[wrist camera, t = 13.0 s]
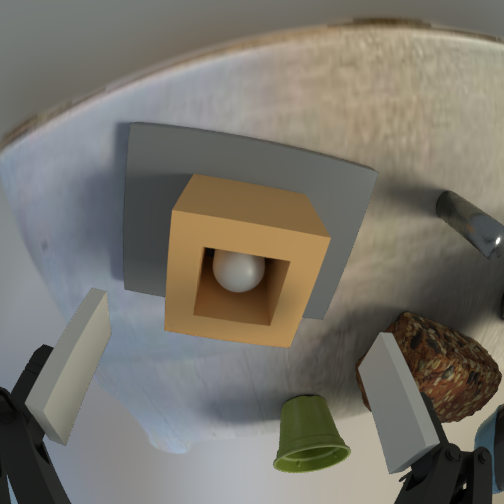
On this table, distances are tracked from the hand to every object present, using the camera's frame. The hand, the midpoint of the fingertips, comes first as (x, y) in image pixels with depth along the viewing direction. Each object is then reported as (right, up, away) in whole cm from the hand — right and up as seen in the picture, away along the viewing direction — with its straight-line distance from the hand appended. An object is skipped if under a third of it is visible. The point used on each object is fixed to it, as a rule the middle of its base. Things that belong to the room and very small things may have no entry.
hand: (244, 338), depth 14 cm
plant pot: (+7, -17, +23) cm, 30 cm away
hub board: (-1, +6, +10) cm, 12 cm away
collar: (-1, +5, +9) cm, 11 cm away
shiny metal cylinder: (+18, +8, +10) cm, 22 cm away
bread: (+22, -9, +20) cm, 31 cm away
